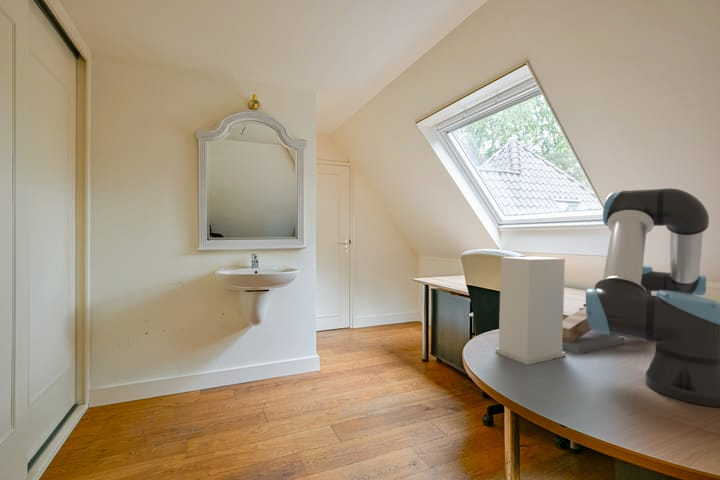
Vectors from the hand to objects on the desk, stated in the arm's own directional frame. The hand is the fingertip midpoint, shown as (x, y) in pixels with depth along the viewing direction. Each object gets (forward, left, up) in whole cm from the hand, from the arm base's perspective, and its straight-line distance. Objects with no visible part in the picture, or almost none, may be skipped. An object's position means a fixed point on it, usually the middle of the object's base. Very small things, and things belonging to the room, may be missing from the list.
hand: (588, 313), depth 117 cm
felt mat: (-1, +2, -10) cm, 11 cm away
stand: (-15, +26, -10) cm, 32 cm away
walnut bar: (-1, +2, -5) cm, 5 cm away
